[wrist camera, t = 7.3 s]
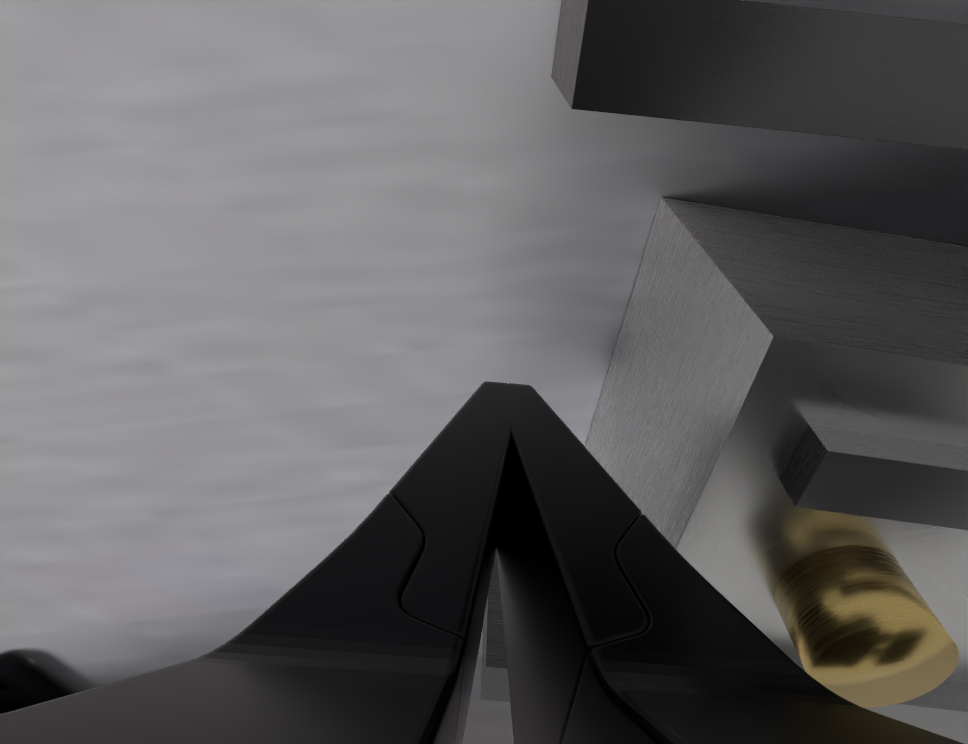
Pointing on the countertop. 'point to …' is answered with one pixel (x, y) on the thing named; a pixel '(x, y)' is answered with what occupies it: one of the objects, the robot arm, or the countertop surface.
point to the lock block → (807, 441)
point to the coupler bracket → (753, 97)
